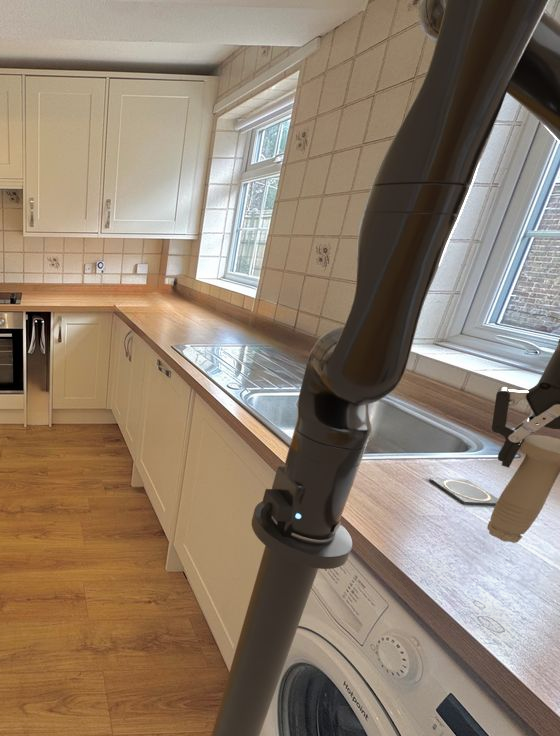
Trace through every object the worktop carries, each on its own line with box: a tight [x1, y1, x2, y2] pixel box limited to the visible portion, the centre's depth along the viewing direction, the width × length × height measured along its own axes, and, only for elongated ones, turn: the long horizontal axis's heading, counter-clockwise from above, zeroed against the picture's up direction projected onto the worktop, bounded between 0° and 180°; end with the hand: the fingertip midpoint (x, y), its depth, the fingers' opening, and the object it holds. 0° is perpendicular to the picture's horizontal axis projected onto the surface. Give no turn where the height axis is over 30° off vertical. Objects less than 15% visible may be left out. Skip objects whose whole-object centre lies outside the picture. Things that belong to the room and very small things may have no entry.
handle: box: [486, 434, 560, 544], centre depth 56 cm, size 5×6×15 cm
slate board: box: [429, 478, 499, 506], centre depth 78 cm, size 8×8×1 cm
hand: (536, 474), depth 55 cm, fingers closed on handle, 5 cm apart
